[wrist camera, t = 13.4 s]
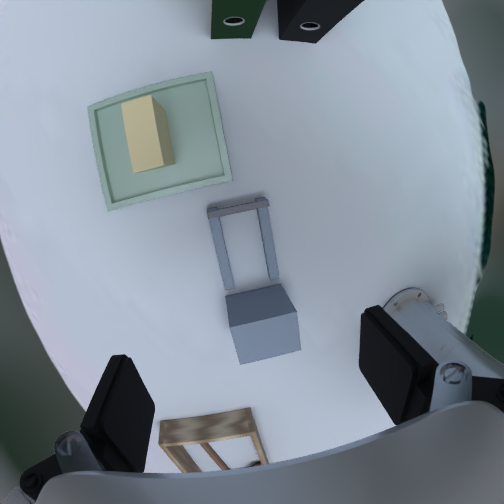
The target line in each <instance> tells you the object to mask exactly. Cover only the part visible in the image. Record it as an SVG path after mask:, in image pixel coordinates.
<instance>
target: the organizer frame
mask: <svg viewBox="0 0 504 504" xmlns="http://www.w3.org/2000/svg"><path fill="white" fill-rule="evenodd" d="M250 435H251V438H252V441H253V443H254V446H255V449H256V451H257V454H258V456H259V459H260V461H261V464H262V465H266V464H269V463H268V460H267V457H266V454H265V451H264V448H263V445H262V442H261V439H260V436H259V433H258V430H257V427H256V424H255V421H254V418H253V415H252V412H251V409H250V408H246V409H241V410H236V411H230V412H225V413H219V414H213V415H206V416H199V417H192V418H184V419H175V420H165V421H161V422H160V432H159V442H158V444H159V446H160V447H161V448H162V449H163V451H164V452H165V453H166V454H167V455H168V457H169V458H170V459H171V460H172V461H173V463H174V464H175V465H176V466H177V467H178V468H179V470H180V471H181V472H182V473H196V472H202V471H201V470H200V469H199V467H198V466H197V465H196V464H195V462H194V461H193V460H192V458H191V457H190V456H189V454H188V453H187V451H186V450H185V449H184V447H183V446H182V445H190V444H199V443H207V442H214V441H221V440H227V439H233V438H239V437H244V436H250Z"/></svg>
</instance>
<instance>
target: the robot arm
mask: <svg viewBox="0 0 504 504" xmlns="http://www.w3.org/2000/svg"><path fill="white" fill-rule="evenodd" d="M442 310H444V304H443V303H441V304H439V305H437V306H433V305H432V304H430V301H429V298H428V296H427V295H426V293H424V292H423V291H422V290H420V289H417V288H410V289H406V290H404V291H402V292H400V293H398V294H397V295H396V296H394V297H393V298H392V299H391V300H390V301H389V302H388V303H387V304H386V306H385V307H384V308H382V307H380V306H379V305H376V306H373V307H370V308H366V309H365V311H364V313H362V314H361V330H360V352H359V368H360V370H361V372H362V374H363V375H364V377H365V378H366V380H367V382H368V383H369V385H370V386H371V388H372V389H373V391H374V392H375V394H376V396H377V397H378V399H379V400H380V402H381V403H382V405H383V407H384V408H385V410H386V411H387V413H388V415H389V416H390V418H391V419H392V421H393V423H394V424H395V425H397V426H395V427H392V428H390V429H387V430H385V431H382V432H379V433H377V434H374V435H371V436H369V437H366V438H363V439H361V440H358V441H355V442H352V443H349V444H346V445H343V446H340V447H336V448H333V449H330V450H326V451H323V452H319V453H315V454H312V455H308V456H304V457H299V458H295V459H291V460H286V461H281V462H276V463H271V464H266V465H260V466H253V467H247V468H239V469H231V470H222V471H211V472H196V473H143V472H144V469H145V463H146V457H147V451H148V445H149V439H150V434H151V428H152V423H153V418H154V413H155V405H154V402H153V400H152V398H151V396H150V394H149V393H148V391H147V389H146V387H145V385H144V383H143V381H142V379H141V377H140V375H139V373H138V371H137V369H136V367H135V365H134V363H133V361H132V359H131V358H130V357H127V356H126V355H125V354H123V355H113V356H112V357H111V358H110V360H109V362H108V364H107V367H106V369H105V371H104V373H103V375H102V377H101V379H100V382H99V384H98V386H97V388H96V391H95V393H94V395H93V397H92V400H91V402H90V404H89V407H88V409H87V411H86V414H85V416H84V419H83V421H82V423H81V426H80V427H81V430H80V433H79V432H78V431H68V432H65V433H63V434H61V435H60V436H59V437H58V438H57V439H56V441H55V443H54V452H55V454H54V455H52V456H51V457H49V458H47V459H45V460H44V461H42V462H40V463H38V464H36V465H34V466H33V467H31V468H29V469H27V470H26V471H25V472H24V473H23V474H22V476H21V478H20V487H21V488H20V489H19V488H18V487H16V488H15V489H14V490H13V491H12V492H11V493H9V495H7V497H5V498H4V499H3V500H2V501H1V502H0V504H504V365H503V364H502V363H500V362H499V361H497V360H496V359H494V358H493V357H491V356H490V355H489V354H488V353H486V352H485V351H484V350H482V349H481V348H480V347H479V346H477V345H476V344H475V343H474V342H473V341H471V340H470V339H469V338H468V337H466V336H465V335H464V334H463V333H462V332H460V331H459V330H458V329H457V328H456V327H454V326H453V325H452V324H451V323H449V322H448V321H447V320H446V319H447V313H446V312H445V311H442ZM440 311H442V312H440ZM438 312H440V313H438Z"/></svg>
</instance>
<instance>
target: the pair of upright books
mask: <svg viewBox="0 0 504 504" xmlns="http://www.w3.org/2000/svg"><path fill="white" fill-rule="evenodd" d="M363 1H364V0H277V5H278V23H279V40H289V41H299V42H308V43H317V42H318V41H319V40H320V39H321V38H322V37H323V36H324V35H325V34H326V33H327V32H328V31H330V30H331V29H332V28H333V27H334V26H335V25H336V24H337V23H338V22H339V21H341V20H342V19H343V18H344V17H345V16H346V15H347V14H349V13H350V12H351V11H352V10H353V9H354V8H356V7H357V6H358V5H359V4H360V3H362V2H363ZM265 2H266V0H212V20H211V39H231V38H250V39H251V37H252V34H253V32H254V29H255V26H256V24H257V21H258V19H259V17H260V14H261V12H262V9H263V7H264V4H265ZM234 17H236V18H241V19H243V21H242V22H239V23H234V24H232V23H227V22H225V20H226V19H228V18H234ZM305 23H310V26H311V28H305V27H302V26H301V25H302V24H305Z"/></svg>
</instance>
